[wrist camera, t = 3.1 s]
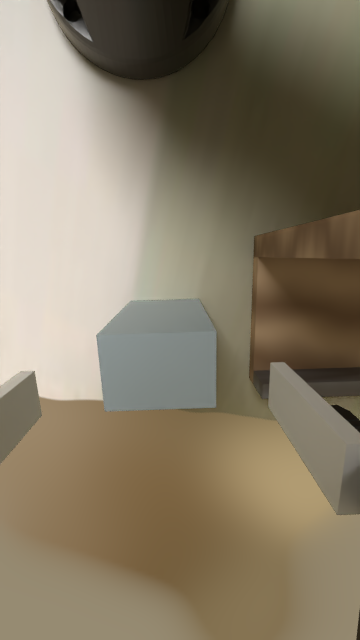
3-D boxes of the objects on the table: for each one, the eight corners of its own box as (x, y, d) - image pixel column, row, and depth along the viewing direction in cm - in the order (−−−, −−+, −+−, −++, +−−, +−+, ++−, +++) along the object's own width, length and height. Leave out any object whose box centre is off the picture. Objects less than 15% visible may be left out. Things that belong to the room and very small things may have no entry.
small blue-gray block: (130, 300, 27) (96, 335, 15) (198, 298, 27) (216, 331, 15) (134, 355, 28) (106, 425, 17) (199, 353, 28) (215, 421, 17)
